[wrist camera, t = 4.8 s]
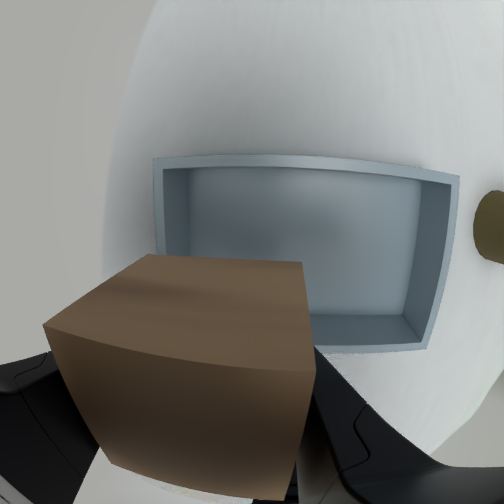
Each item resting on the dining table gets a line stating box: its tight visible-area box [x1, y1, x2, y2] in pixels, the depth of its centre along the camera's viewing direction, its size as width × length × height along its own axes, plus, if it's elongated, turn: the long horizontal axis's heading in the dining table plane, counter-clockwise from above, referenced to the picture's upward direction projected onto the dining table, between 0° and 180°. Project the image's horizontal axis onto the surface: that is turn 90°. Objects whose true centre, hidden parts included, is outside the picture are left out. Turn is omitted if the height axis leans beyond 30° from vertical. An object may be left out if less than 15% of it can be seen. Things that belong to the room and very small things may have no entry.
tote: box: [153, 154, 460, 353], centre depth 17 cm, size 11×17×5 cm, turn 89°
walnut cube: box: [43, 254, 316, 501], centre depth 7 cm, size 5×5×5 cm
